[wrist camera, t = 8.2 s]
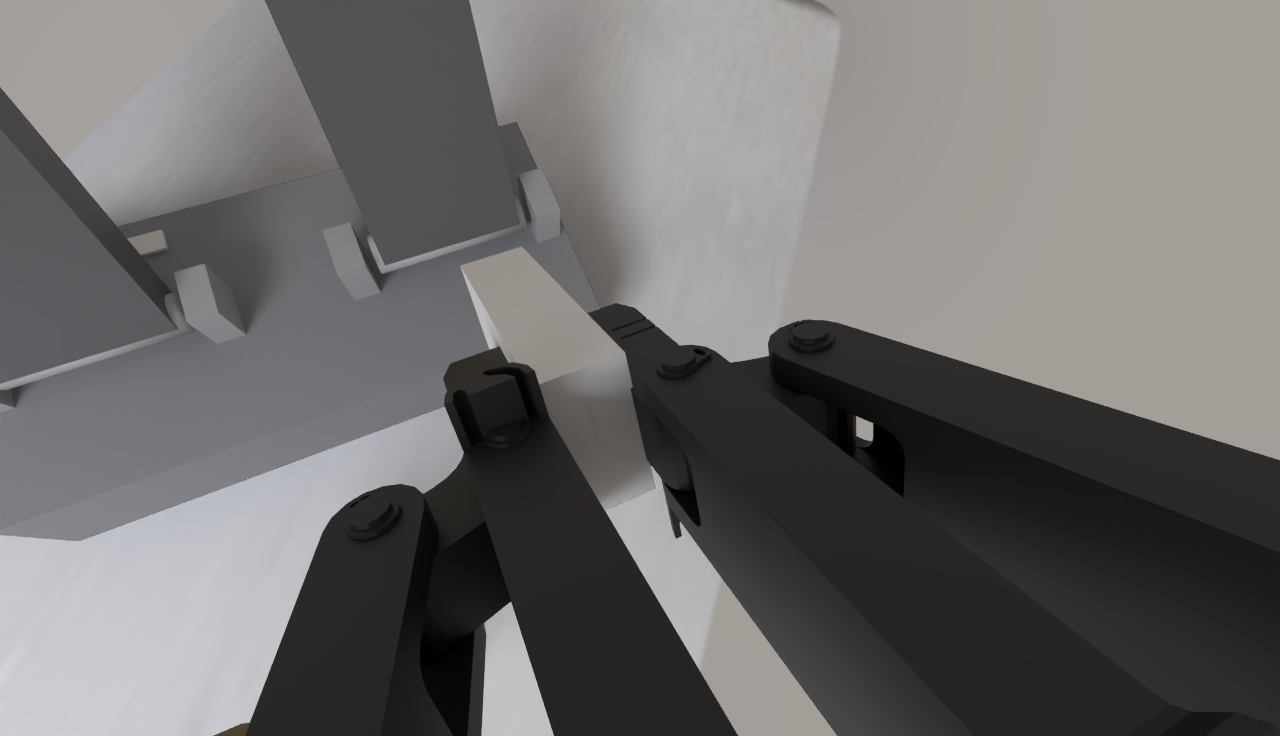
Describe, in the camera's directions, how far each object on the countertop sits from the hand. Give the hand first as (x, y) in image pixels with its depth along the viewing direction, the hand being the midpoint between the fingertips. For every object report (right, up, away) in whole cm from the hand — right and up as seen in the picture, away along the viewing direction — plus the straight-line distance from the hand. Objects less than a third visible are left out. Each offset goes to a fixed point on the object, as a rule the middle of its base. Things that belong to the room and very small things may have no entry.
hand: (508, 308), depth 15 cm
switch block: (-13, 0, +18) cm, 23 cm away
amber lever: (-6, +5, +14) cm, 16 cm away
